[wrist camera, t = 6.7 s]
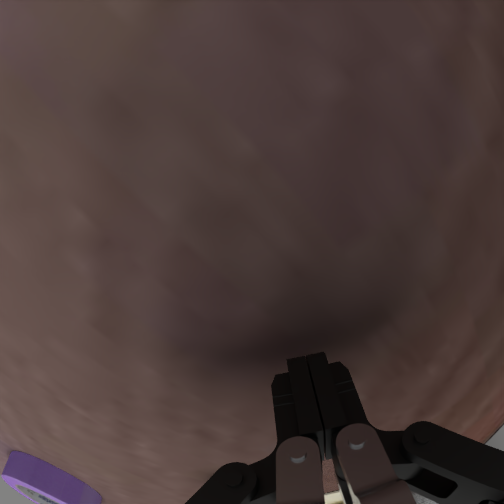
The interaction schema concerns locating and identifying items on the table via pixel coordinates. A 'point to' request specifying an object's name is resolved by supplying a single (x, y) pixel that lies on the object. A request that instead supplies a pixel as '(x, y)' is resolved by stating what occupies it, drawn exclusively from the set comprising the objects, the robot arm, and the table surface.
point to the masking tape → (46, 482)
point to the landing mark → (333, 498)
